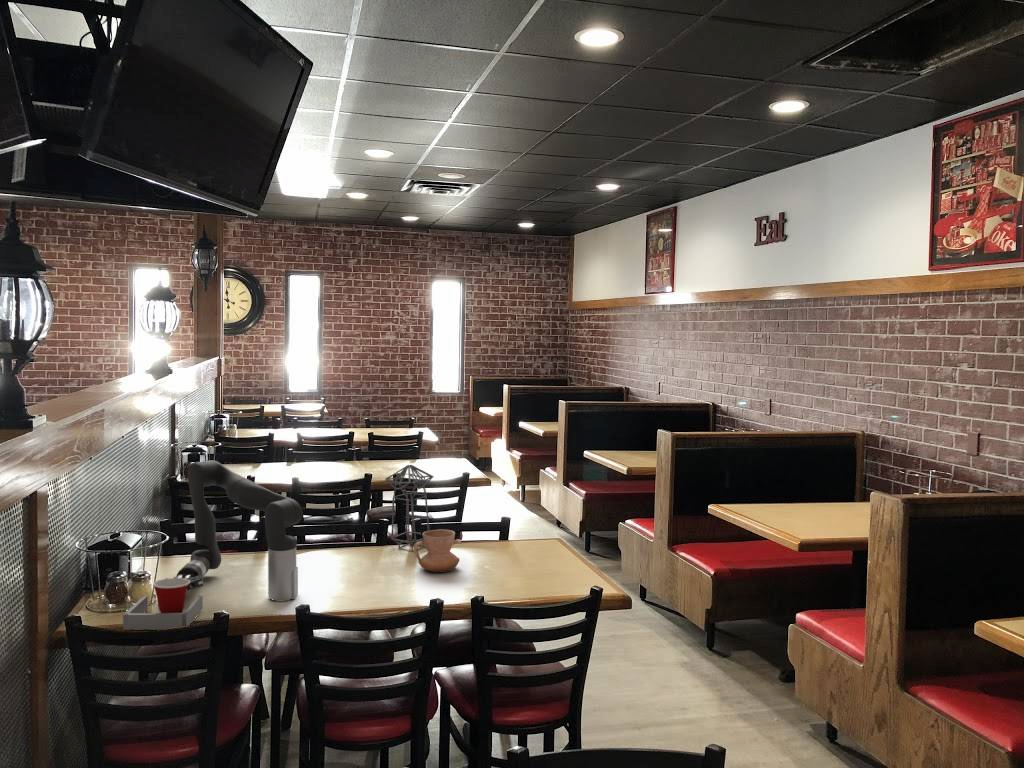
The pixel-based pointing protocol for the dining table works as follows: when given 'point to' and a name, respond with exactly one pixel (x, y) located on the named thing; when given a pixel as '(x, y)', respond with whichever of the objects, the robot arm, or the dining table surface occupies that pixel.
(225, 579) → the dining table surface
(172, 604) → the plastic cup
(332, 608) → the dining table surface
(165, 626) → the box
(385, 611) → the dining table surface
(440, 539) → the ceramic jug
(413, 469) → the geometric lantern
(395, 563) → the dining table surface
